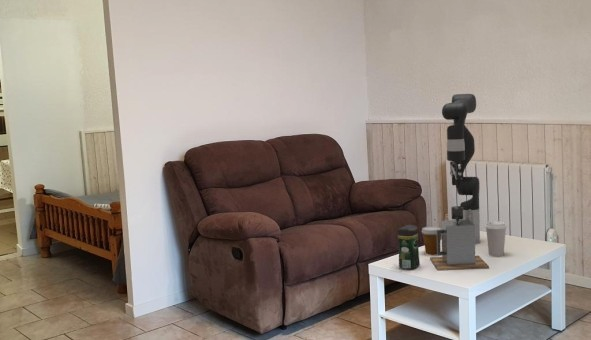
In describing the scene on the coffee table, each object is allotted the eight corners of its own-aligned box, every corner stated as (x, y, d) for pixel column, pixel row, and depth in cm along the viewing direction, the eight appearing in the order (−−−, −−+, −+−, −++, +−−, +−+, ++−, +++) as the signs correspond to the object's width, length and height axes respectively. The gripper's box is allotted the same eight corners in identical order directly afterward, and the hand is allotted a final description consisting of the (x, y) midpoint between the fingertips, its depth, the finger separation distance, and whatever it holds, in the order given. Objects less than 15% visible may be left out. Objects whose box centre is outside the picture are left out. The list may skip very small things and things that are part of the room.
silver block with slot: (435, 258, 279) (434, 220, 277) (469, 257, 278) (468, 219, 276) (440, 266, 267) (439, 226, 265) (476, 264, 266) (475, 225, 264)
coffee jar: (405, 263, 278) (404, 222, 276) (422, 265, 273) (420, 224, 271) (395, 268, 270) (394, 227, 268) (412, 270, 266) (411, 228, 264)
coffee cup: (484, 251, 290) (483, 220, 288) (505, 251, 288) (505, 220, 286) (486, 257, 281) (485, 224, 279) (508, 257, 279) (508, 224, 277)
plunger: (446, 249, 276) (445, 206, 274) (465, 248, 276) (464, 205, 274) (450, 254, 268) (449, 209, 266) (470, 253, 268) (469, 208, 265)
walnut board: (430, 259, 282) (429, 257, 282) (478, 257, 281) (478, 255, 281) (437, 270, 264) (437, 268, 264) (489, 268, 263) (489, 266, 263)
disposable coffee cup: (443, 255, 287) (442, 230, 286) (422, 255, 289) (421, 230, 288) (442, 250, 297) (441, 226, 295) (422, 250, 299) (421, 226, 297)
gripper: (468, 150, 259) (469, 188, 261) (460, 147, 274) (461, 183, 275) (450, 151, 260) (451, 189, 262) (443, 148, 274) (444, 184, 276)
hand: (456, 186), depth 269 cm, fingers open, 8 cm apart
